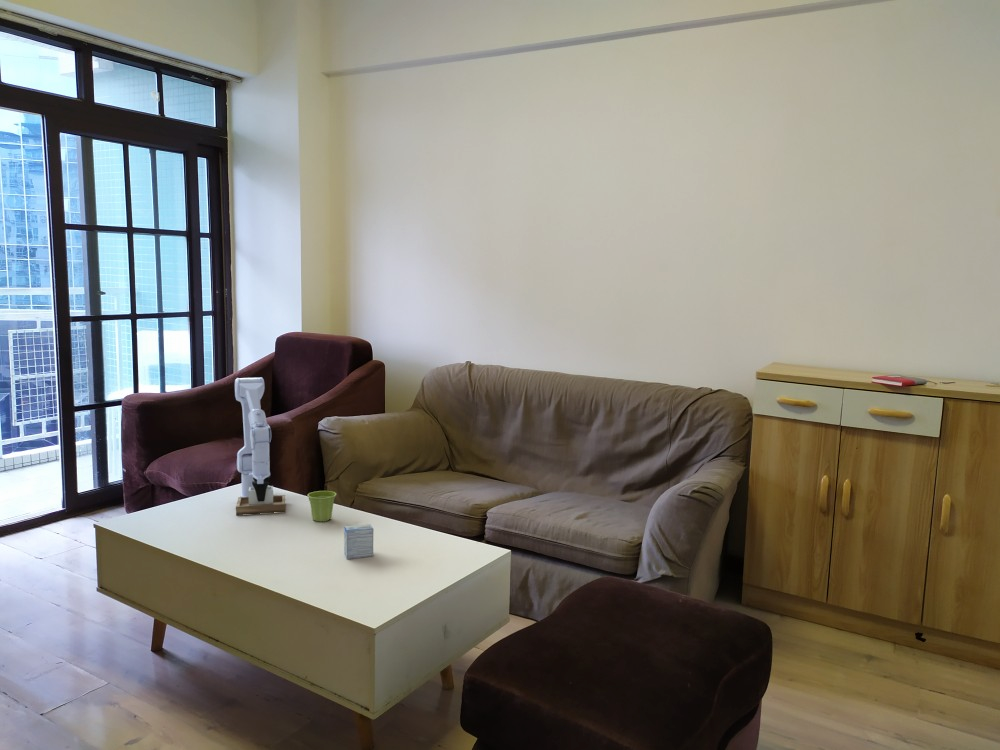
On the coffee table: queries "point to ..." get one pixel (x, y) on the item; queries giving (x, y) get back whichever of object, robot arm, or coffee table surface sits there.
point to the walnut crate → (260, 506)
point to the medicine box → (358, 541)
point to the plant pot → (321, 504)
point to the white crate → (253, 496)
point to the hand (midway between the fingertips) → (261, 499)
